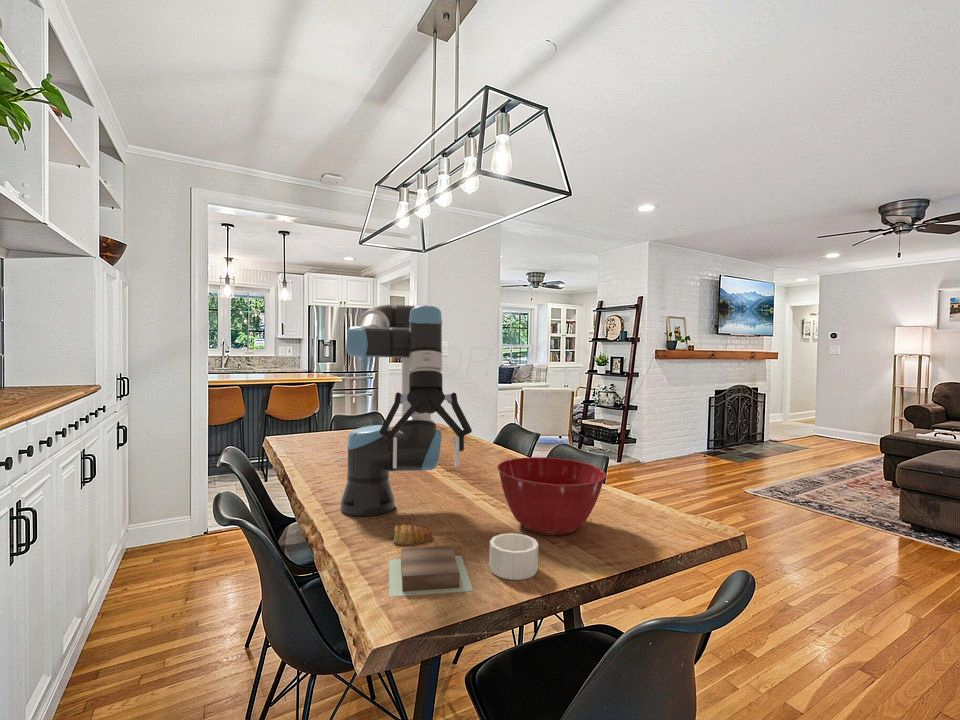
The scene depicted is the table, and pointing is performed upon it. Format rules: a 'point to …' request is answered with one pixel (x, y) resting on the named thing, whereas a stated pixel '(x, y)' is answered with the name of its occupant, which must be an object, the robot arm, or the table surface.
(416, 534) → the pastry
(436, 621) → the table surface
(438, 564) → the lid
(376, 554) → the table surface
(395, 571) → the mat
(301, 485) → the table surface
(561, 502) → the mixing bowl
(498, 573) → the bowl
